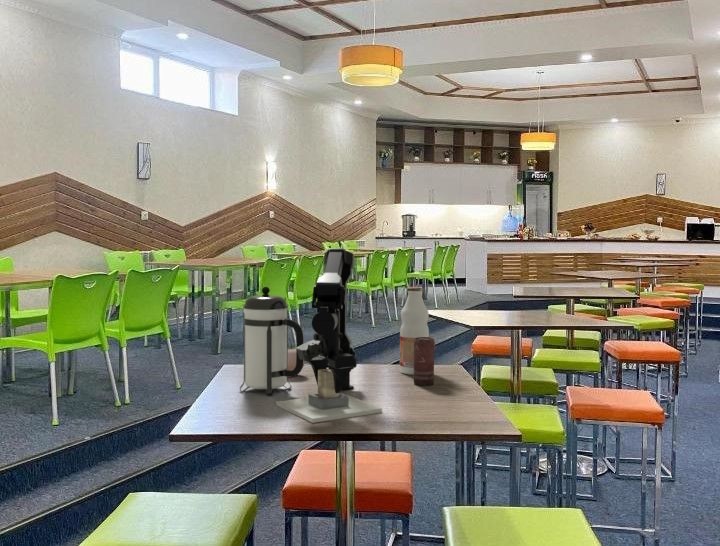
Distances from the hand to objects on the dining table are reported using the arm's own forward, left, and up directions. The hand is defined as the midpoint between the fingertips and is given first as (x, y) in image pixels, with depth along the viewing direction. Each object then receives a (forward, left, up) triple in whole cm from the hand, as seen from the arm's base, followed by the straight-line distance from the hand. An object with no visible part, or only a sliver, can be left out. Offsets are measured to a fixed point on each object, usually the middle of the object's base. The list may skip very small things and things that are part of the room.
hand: (328, 389), depth 183 cm
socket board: (0, 0, -5) cm, 5 cm away
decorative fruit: (-43, +11, -5) cm, 45 cm away
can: (-12, +40, -5) cm, 42 cm away
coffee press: (-27, -4, -5) cm, 28 cm away
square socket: (0, 0, -5) cm, 5 cm away
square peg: (0, 0, -4) cm, 4 cm away
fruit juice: (-28, +48, -5) cm, 56 cm away
